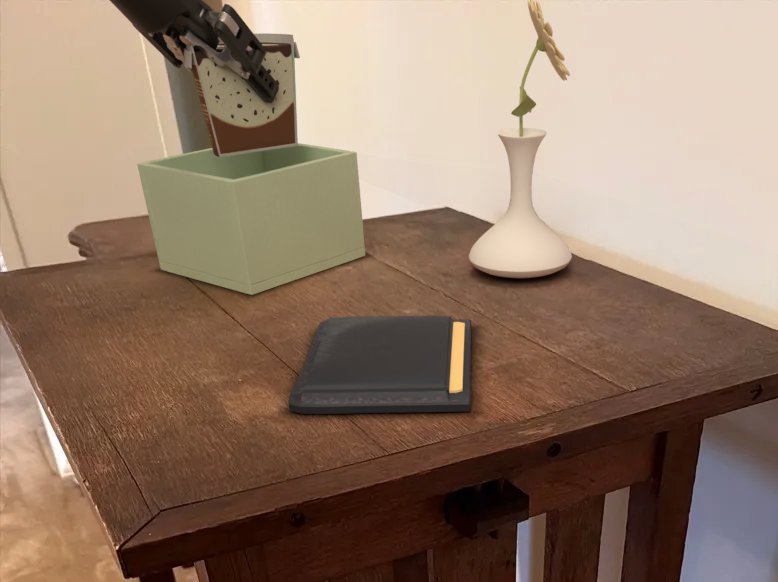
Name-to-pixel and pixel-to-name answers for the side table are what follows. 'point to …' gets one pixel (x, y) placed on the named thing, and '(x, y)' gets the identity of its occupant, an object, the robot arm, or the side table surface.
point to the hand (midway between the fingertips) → (249, 92)
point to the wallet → (386, 366)
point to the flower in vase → (524, 190)
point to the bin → (254, 214)
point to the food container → (247, 100)
